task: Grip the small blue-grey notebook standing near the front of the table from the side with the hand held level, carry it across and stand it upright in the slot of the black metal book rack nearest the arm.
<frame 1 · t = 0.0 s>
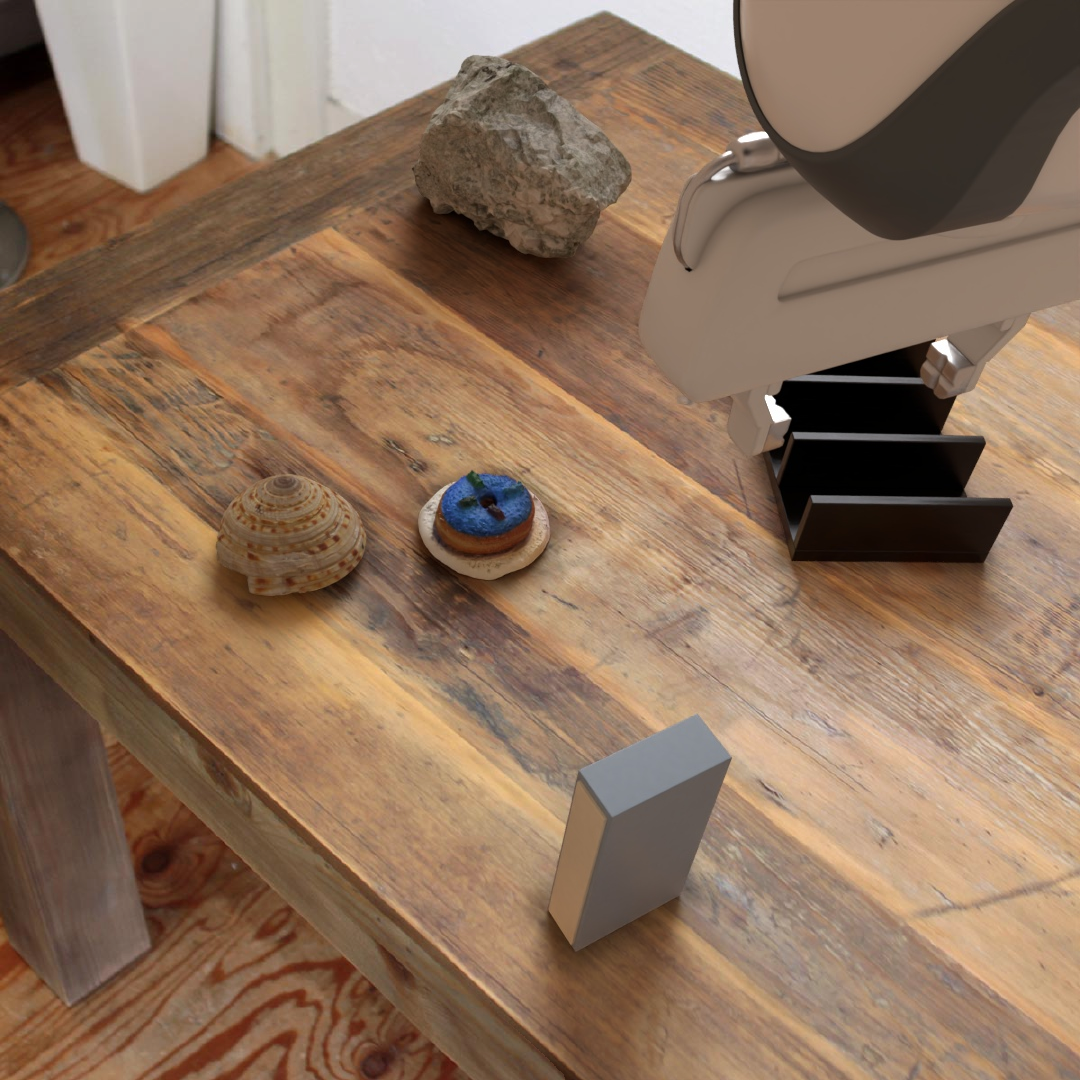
hand: (851, 413, 53), 23 cm above the table, tool pointing down, fingers open, 8 cm apart
fruit: (751, 283, 97), on the table
seashell: (293, 551, 76), on the table
stone: (516, 221, 100), on the table
book: (614, 901, 63), on the table
rack: (856, 465, 85), on the table
dessert: (485, 532, 78), on the table
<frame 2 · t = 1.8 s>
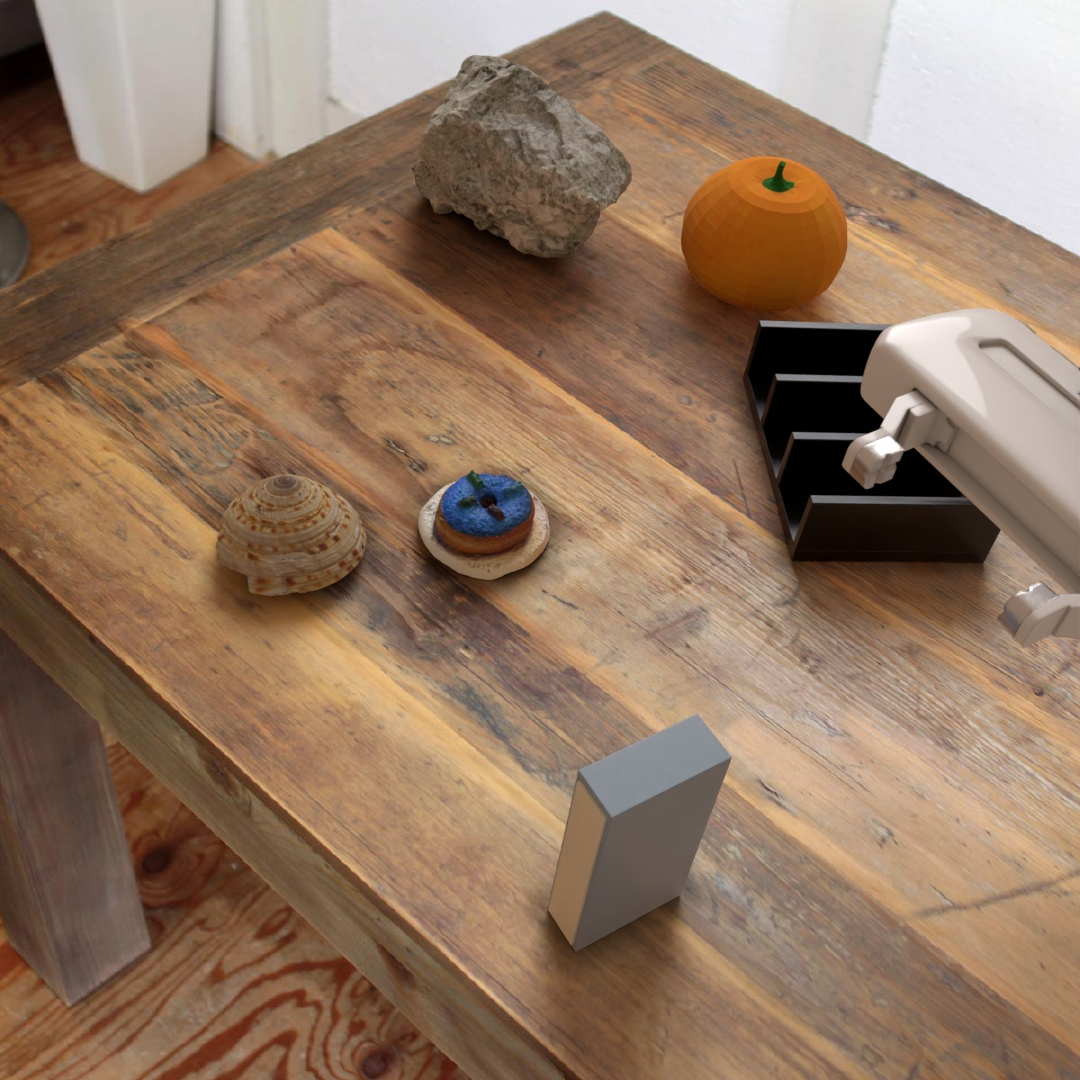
hand: (931, 541, 54), 19 cm above the table, tool horizontal, fingers open, 8 cm apart
nothing on the table moved.
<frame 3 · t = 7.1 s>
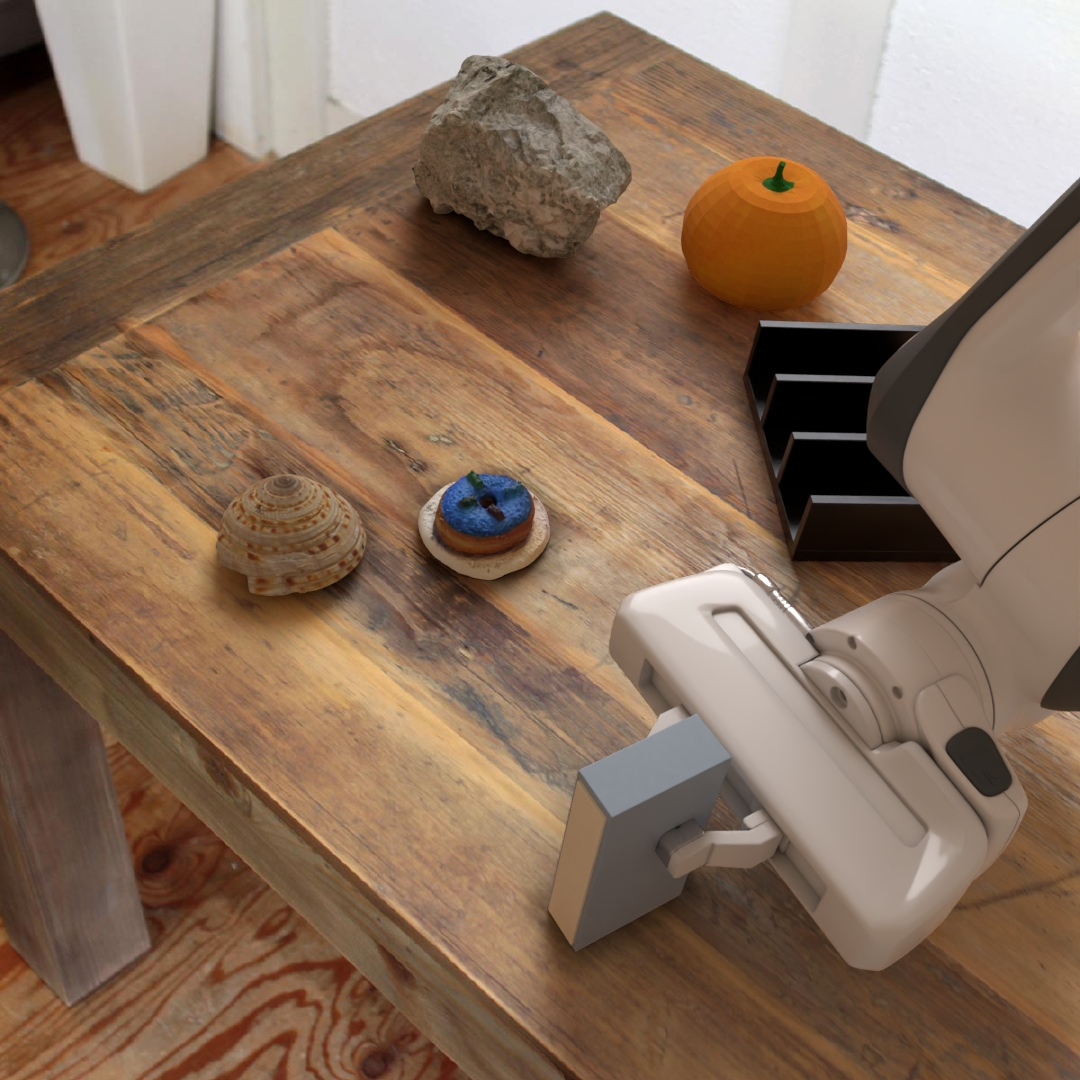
hand: (640, 823, 58), 7 cm above the table, tool horizontal, fingers closed on book, 2 cm apart
book: (614, 901, 63), on the table, touching gripper
everything else where it was.
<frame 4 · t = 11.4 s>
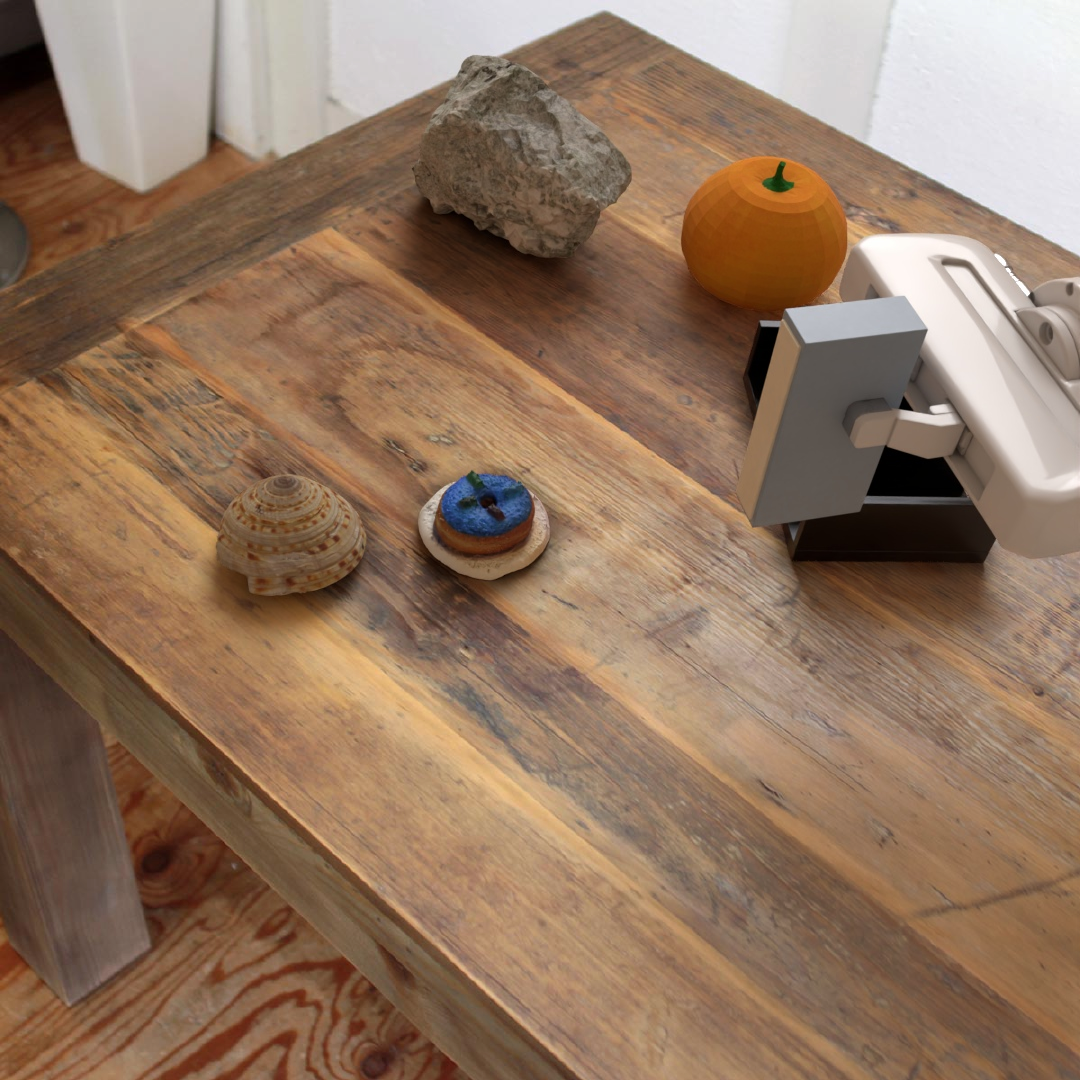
hand: (833, 398, 63), 17 cm above the table, tool horizontal, fingers closed on book, 2 cm apart
book: (797, 502, 69), point 9 cm above the table, touching gripper
everything else where it was.
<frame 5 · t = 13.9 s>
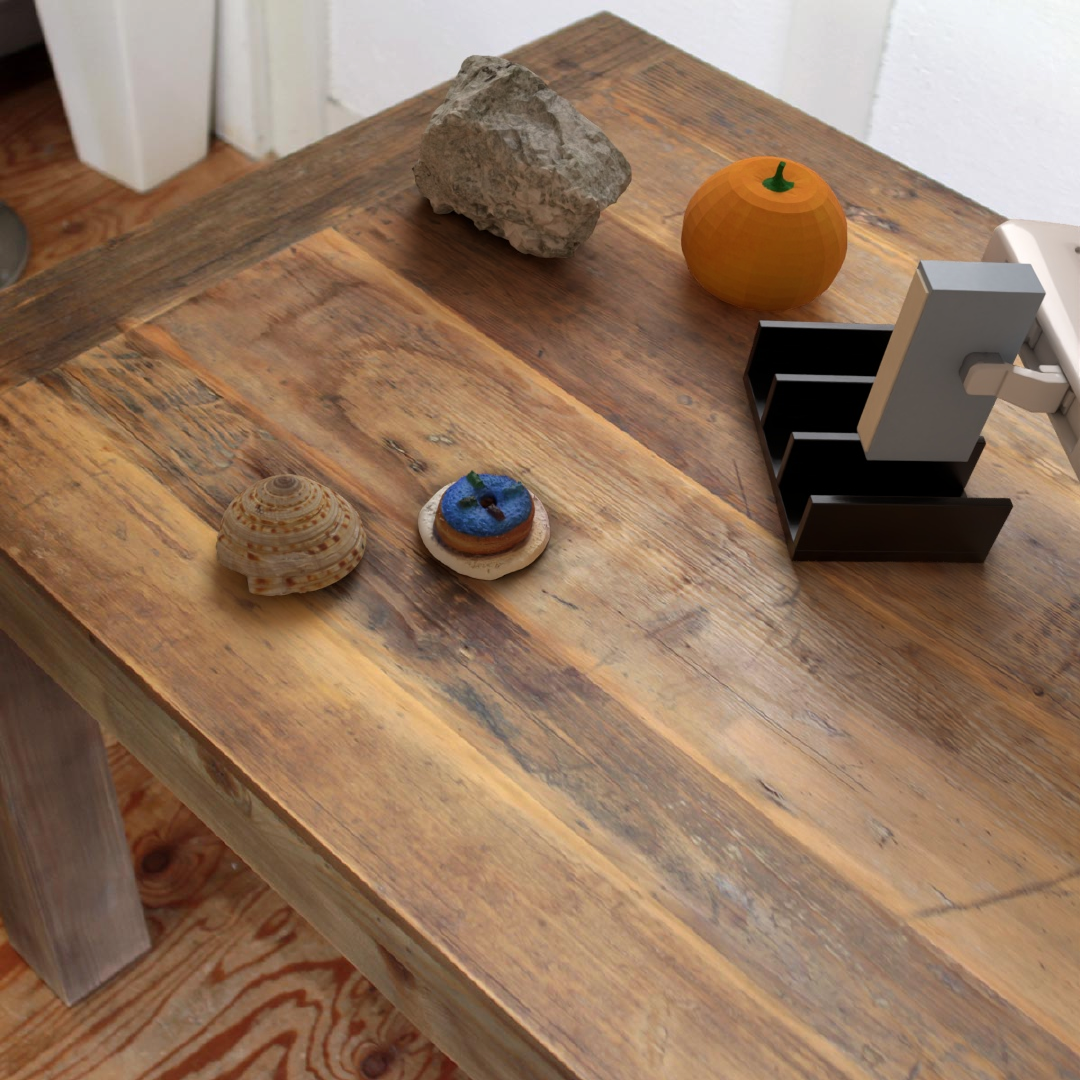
hand: (954, 349, 71), 14 cm above the table, tool horizontal, fingers closed on book, 2 cm apart
book: (911, 445, 77), point 7 cm above the table, touching gripper
everything else where it was.
when the fingers open (8 cm above the table, at t = 15.8 s): book stays where it is, resting on rack.
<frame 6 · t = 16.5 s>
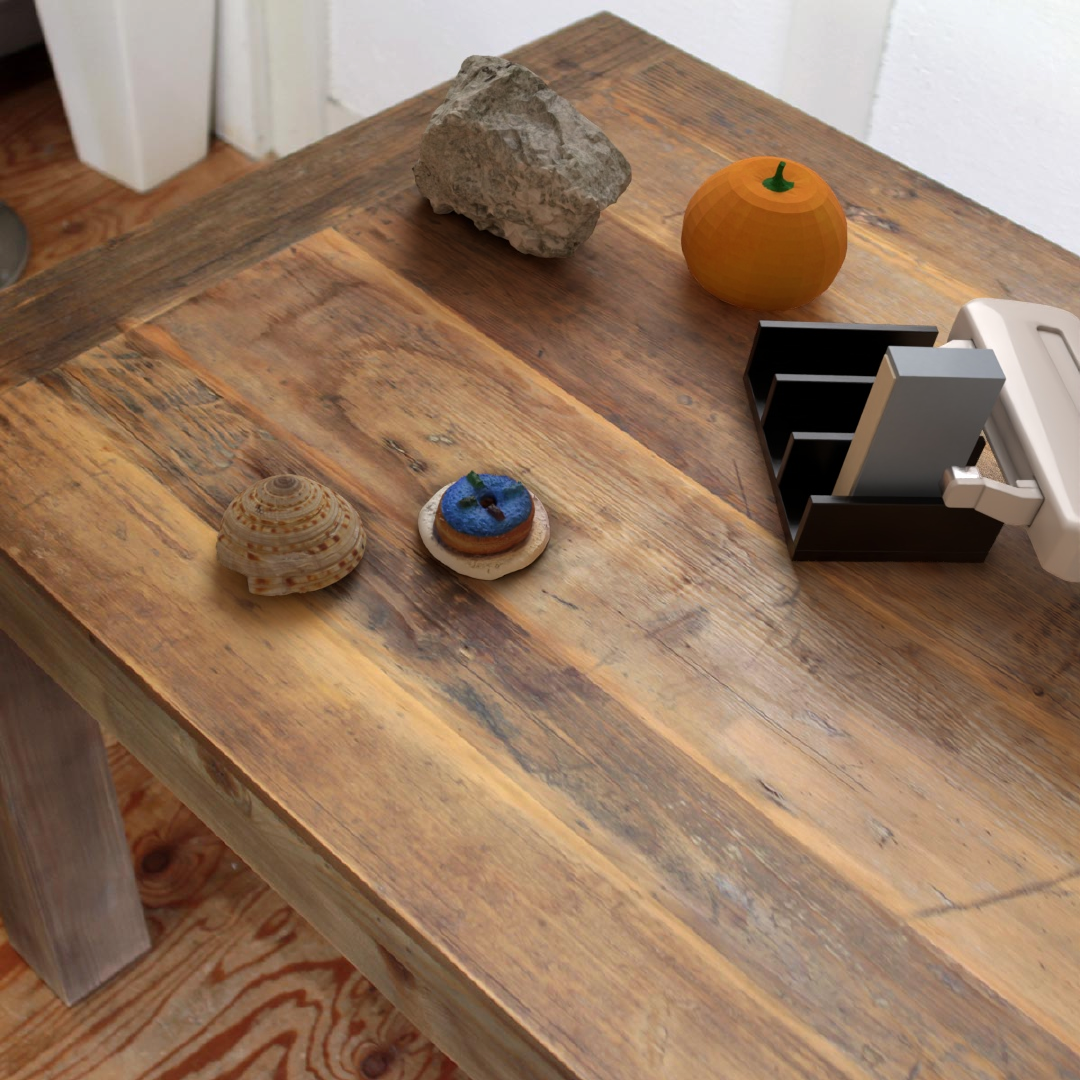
hand: (920, 426, 75), 8 cm above the table, tool horizontal, fingers open, 8 cm apart
book: (882, 513, 81), point 1 cm above the table, touching rack
everything else where it was.
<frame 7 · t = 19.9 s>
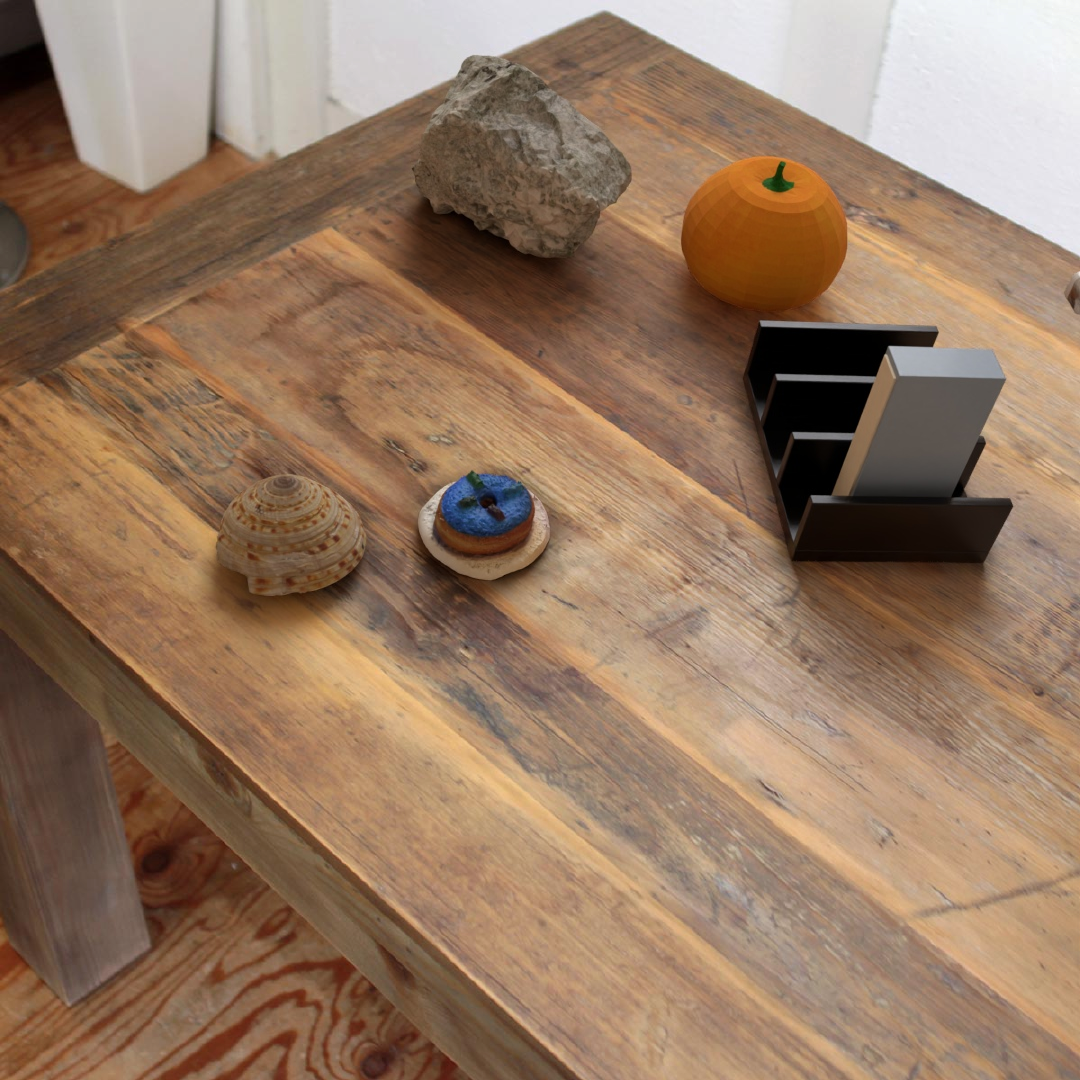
nothing on the table moved.
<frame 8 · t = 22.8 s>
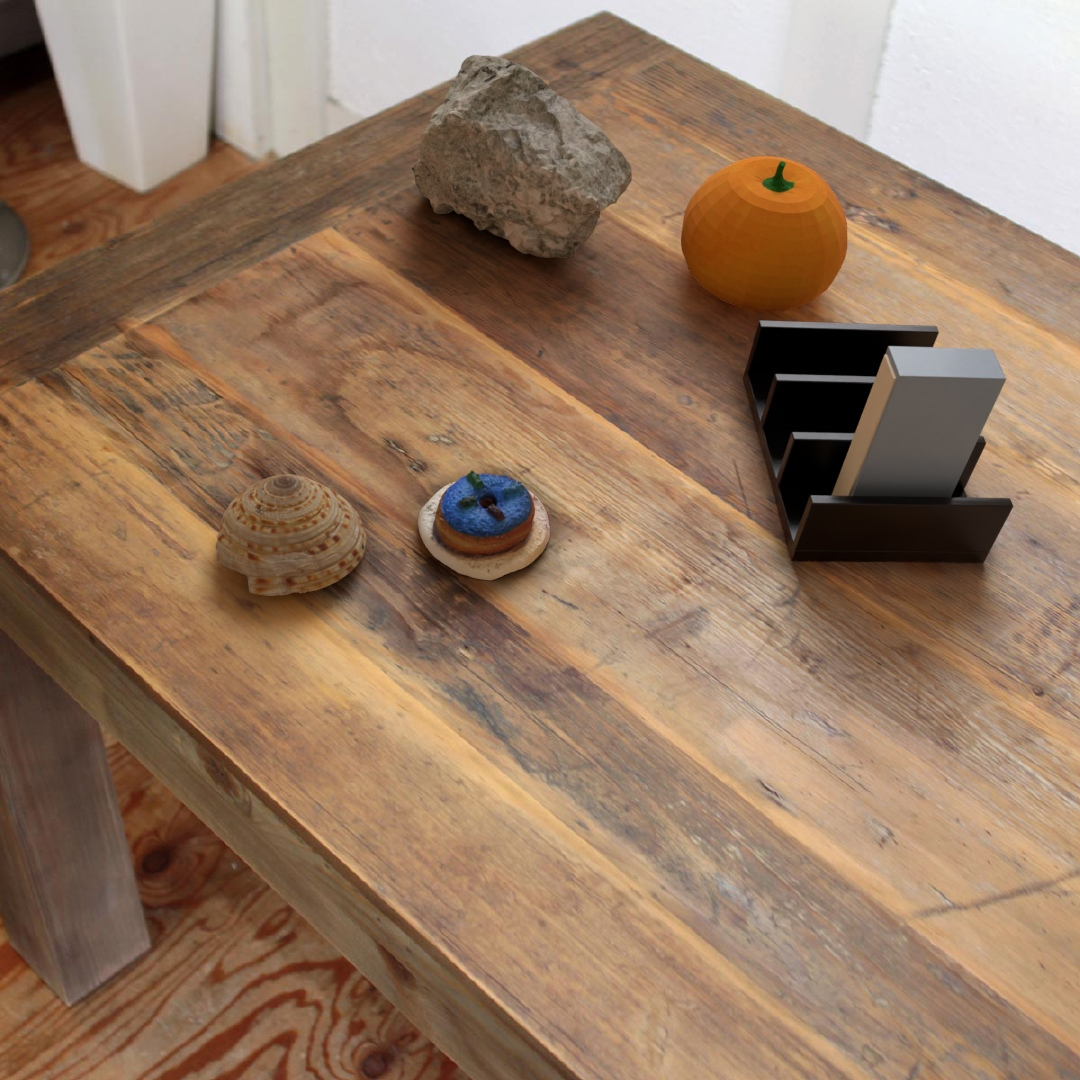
nothing on the table moved.
at the end: book 0.3 cm from the target spot on the rack, point 1.0 cm above the rack's base; book tilted 0°; the gripper is holding nothing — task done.
